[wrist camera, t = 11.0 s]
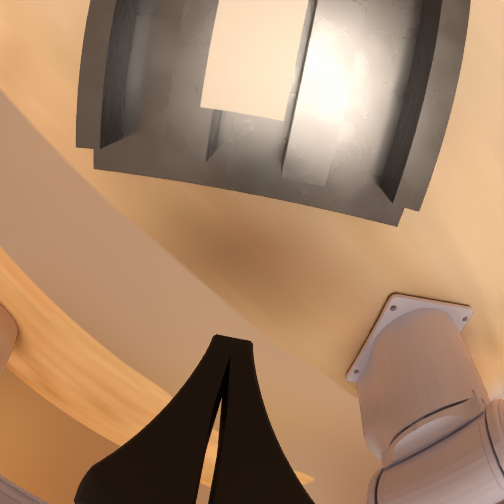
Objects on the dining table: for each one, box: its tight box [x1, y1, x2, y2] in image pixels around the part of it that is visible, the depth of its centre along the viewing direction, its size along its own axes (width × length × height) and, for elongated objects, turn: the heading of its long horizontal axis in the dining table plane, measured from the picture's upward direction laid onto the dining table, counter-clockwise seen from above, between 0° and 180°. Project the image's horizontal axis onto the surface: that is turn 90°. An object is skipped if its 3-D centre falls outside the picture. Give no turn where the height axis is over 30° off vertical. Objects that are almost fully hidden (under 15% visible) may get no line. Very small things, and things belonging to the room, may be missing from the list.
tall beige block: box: [200, 0, 308, 121], centre depth 10 cm, size 6×2×7 cm, turn 170°
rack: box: [76, 0, 471, 227], centre depth 12 cm, size 16×18×4 cm
